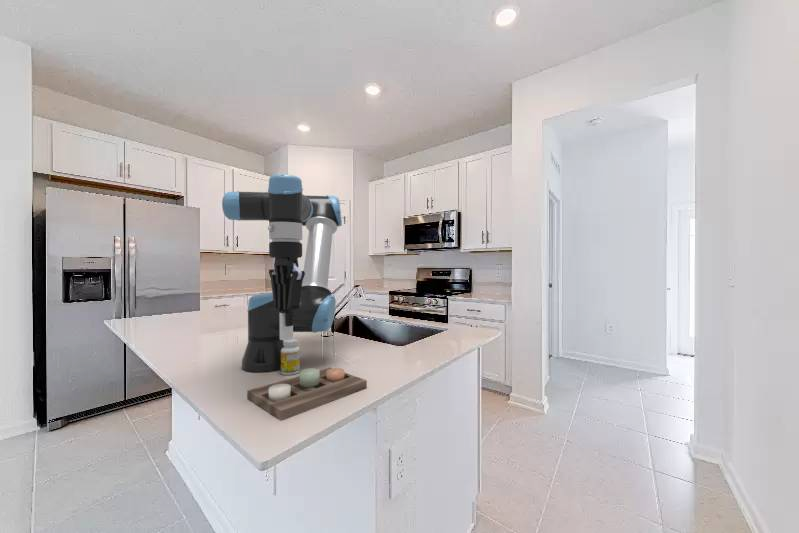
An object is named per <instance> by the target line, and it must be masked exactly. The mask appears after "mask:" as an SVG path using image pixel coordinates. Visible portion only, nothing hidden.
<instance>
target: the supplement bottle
mask: <svg viewBox="0 0 799 533" xmlns="http://www.w3.org/2000/svg"><path fill="white" fill-rule="evenodd" d="M283 346H284V347H283V348H282V349H281V369H280V374H281V375H284V376H292V375H297V374H298V373H300V371H301V370H300V368H301V367H300V364H301V363H300V360H301V359H300V353H301V352H300V350H301V349H300V347H299V346H298V339H296V338H293V339H288V340H284V341H283Z"/></svg>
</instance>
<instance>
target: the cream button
mask: <svg viewBox="0 0 799 533" xmlns="http://www.w3.org/2000/svg"><path fill="white" fill-rule="evenodd" d="M289 397H291V386H290V385H289V384H276V385H273V386H271V387H269V400H270V401H272V402H277V401H280V400H283V399H286V398H289Z"/></svg>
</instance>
